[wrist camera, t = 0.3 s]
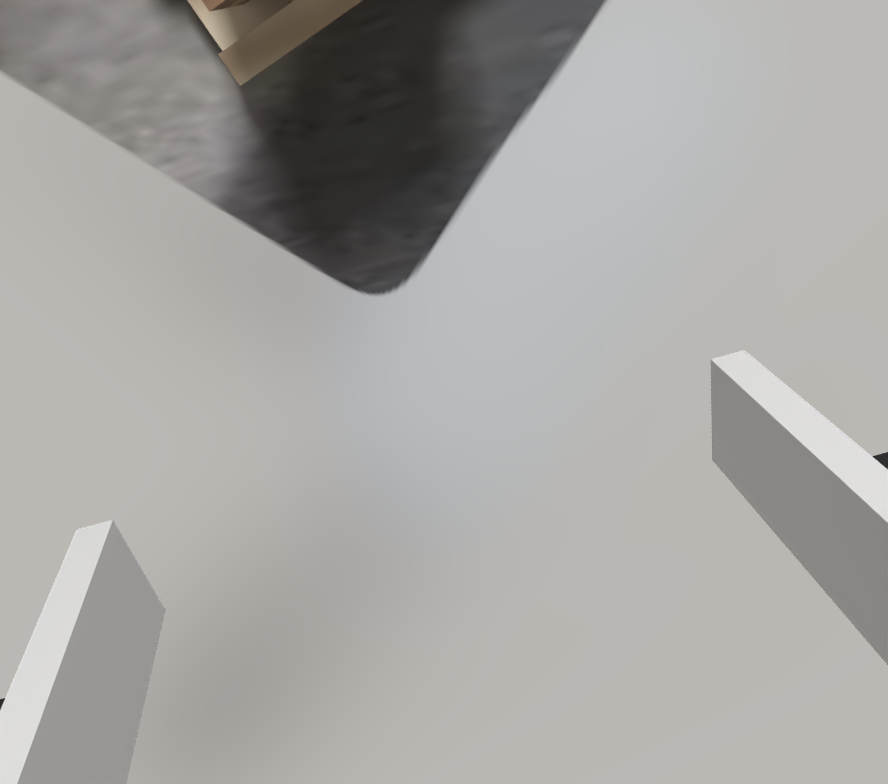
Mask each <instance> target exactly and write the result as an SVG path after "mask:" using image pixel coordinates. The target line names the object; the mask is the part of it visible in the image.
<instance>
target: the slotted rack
mask: <svg viewBox="0 0 888 784" xmlns="http://www.w3.org/2000/svg"><path fill="white" fill-rule="evenodd" d="M187 1H188V2H189V3H190V5H191V6H192V8H193V9H194V11H195V12H196V13H197V15H198V16H199V18H200V19H201V21H202V22H203V24H204V25H205V26H206V28H207V29H208V31H209V32H210V34H211V35H212V37H213V38H214V39H215V41H216V42H217V44H218V45H219V47H220V48H221V49H222V52H221V53H219V54H218V55H219V57H220V58H221V60H222V61H223V62H224V64H225V65H226V67H227V68H228V70H229V71H230V72H231V74H232V75H233V77H234V78H235V80H236V81H237V82H238V84H239V85H240V86H241V85H243V84H244V83H246V82H247V81H248V80H250V79H251V78H253V77H254V76H256V75H257V74H258V73H260V72H261V71H263V70H264V69H266V68H267V67H268V66H270V65H271V64H273V63H274V62H276V61H277V60H278V59H280V58H281V57H283V56H284V55H286V54H287V53H288V52H290V51H291V50H293V49H294V48H296V47H297V46H298V45H300V44H301V43H303V42H304V41H306V40H307V39H308V38H310V37H311V36H313V35H314V34H316V33H317V32H318V31H320V30H321V29H323V28H324V27H326V26H327V25H328V24H330V23H331V22H333V21H334V20H336V19H337V18H338V17H340V16H341V15H343V14H344V13H346V12H347V11H348V10H350V9H351V8H353V7H354V6H356V5H357V4H358V3H360V2H361V1H363V0H250V1H248V2H247V3H245V4H244V5H239V6H234V7H229V8H224V9H219V10H215V11H210V12H209V10H208V9H207V7H206V6H205V5H204V3H203V2H202V0H187Z"/></svg>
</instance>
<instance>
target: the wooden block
mask: <svg viewBox="0 0 888 784" xmlns="http://www.w3.org/2000/svg"><path fill="white" fill-rule="evenodd" d="M248 1H250V0H202V2H203V3H204V5H205V6H206V7H207V9H208V10H209V12H210V11H215V10H219V9H224V8H229V7H234V6H239V5H244V4H245V3H247V2H248Z"/></svg>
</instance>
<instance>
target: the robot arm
mask: <svg viewBox="0 0 888 784" xmlns="http://www.w3.org/2000/svg"><path fill="white" fill-rule="evenodd" d="M711 404H712V460H713V461H714V462H715V464H717V466H718V467H719V468H720V469H721V471H722V472H723V473H724V474H725V475H726V476H727V477H728V479H729V480H730V481H731V482H732V483H733V485H734V486H735V487H736V488H737V489H738V490H739V491H740V493H741V494H742V495H743V496H744V497H745V499H746V500H747V501H748V502H749V503H750V504H751V506H752V507H753V508H754V509H755V510H756V511H757V513H758V514H759V515H760V516H761V517H762V518H763V520H764V521H765V522H766V523H767V524H768V525H769V527H770V528H771V529H772V530H773V531H774V533H775V534H776V535H777V536H778V537H779V538H780V539H781V541H782V542H783V543H784V544H785V545H786V547H788V549H789V550H790V551H791V552H792V553H793V555H794V556H795V557H796V558H797V559H798V560H799V562H800V563H801V564H802V565H803V566H804V568H805V569H806V570H807V571H808V572H809V573H810V575H811V576H812V577H813V578H814V579H815V580H816V582H818V584H819V585H820V586H821V587H822V588H823V590H824V591H825V592H826V593H827V594H828V596H829V597H830V598H831V599H832V600H833V601H834V602H835V604H836V605H837V606H838V607H839V608H840V610H841V611H842V612H843V613H844V614H845V615H846V617H847V618H848V619H849V620H850V621H851V622H852V624H853V625H854V626H855V627H856V628H857V630H858V631H859V632H860V633H861V634H862V635H863V637H864V638H865V639H866V640H867V641H868V642H869V644H871V646H872V647H873V648H874V649H875V651H876V652H877V653H878V654H879V655H880V656H881V658H882V659H883V660H884V661H885V662H886V663H887V664H888V452H887V453H883V454H880V455H876V456H871V455H869V454H868V453H867V452H866V451H865V450H864V449H862V448H861V447H860V446H859V445H858V444H856V443H855V442H854V441H853V440H852V439H850V438H849V437H848V436H847V435H845V434H844V433H843V432H842V431H841V430H840V429H838V428H837V427H836V426H835V425H834V424H832V423H831V422H830V421H829V420H827V419H826V418H825V417H824V416H823V415H822V414H820V413H819V412H818V411H817V410H816V409H814V408H813V407H812V406H811V405H810V404H808V403H807V402H806V401H805V400H804V399H802V398H801V397H800V396H799V395H798V394H796V393H795V392H794V391H793V390H792V389H790V388H789V387H788V386H787V385H786V384H784V383H783V382H782V381H781V380H780V379H778V378H777V377H776V376H775V375H773V374H772V373H771V372H770V371H769V370H768V369H766V368H765V367H764V366H763V365H762V364H760V363H759V362H758V361H757V360H756V359H754V358H753V357H752V356H751V355H750V354H748V353H747V352H746V351H745V350H743V351H740V352H736V353H732V354H728V355H725V356H721V357H718V358H714V359H711ZM164 614H165V608H164V607H163V605H162V604H161V602H160V600H159V598H158V597H157V595H156V593H155V591H154V590H153V588H152V586H151V584H150V583H149V581H148V579H147V578H146V576H145V574H144V573H143V571H142V569H141V567H140V566H139V564H138V562H137V560H136V559H135V557H134V555H133V554H132V552H131V550H130V548H129V547H128V545H127V543H126V542H125V540H124V538H123V537H122V535H121V533H120V531H119V529H118V528H117V526H116V524H115V523H114V521H113V520H110V521H106V522H103V523H99V524H96V525H92V526H88V527H84V528H80V529H77V530H76V532H75V535H74V537H73V539H72V542H71V544H70V546H69V549H68V551H67V554H66V556H65V558H64V561H63V563H62V565H61V568H60V570H59V572H58V575H57V577H56V580H55V582H54V584H53V587H52V589H51V591H50V594H49V596H48V599H47V601H46V603H45V606H44V608H43V611H42V613H41V615H40V618H39V620H38V622H37V625H36V627H35V629H34V632H33V634H32V637H31V639H30V641H29V644H28V646H27V648H26V651H25V653H24V656H23V658H22V660H21V663H20V665H19V667H18V670H17V672H16V675H15V677H14V679H13V681H12V684H11V686H10V689H9V691H8V693H7V696H6V698H4V699H0V784H126V782H127V778H128V774H129V769H130V764H131V760H132V756H133V751H134V747H135V743H136V738H137V734H138V729H139V724H140V720H141V716H142V711H143V707H144V703H145V698H146V694H147V689H148V685H149V680H150V676H151V671H152V667H153V663H154V658H155V654H156V649H157V645H158V640H159V636H160V631H161V627H162V623H163V618H164Z"/></svg>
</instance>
